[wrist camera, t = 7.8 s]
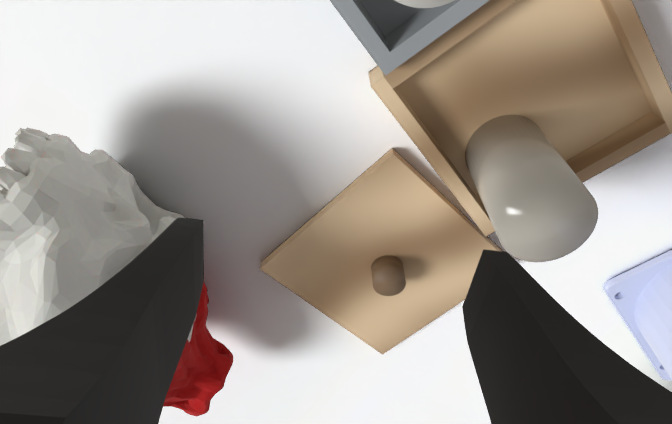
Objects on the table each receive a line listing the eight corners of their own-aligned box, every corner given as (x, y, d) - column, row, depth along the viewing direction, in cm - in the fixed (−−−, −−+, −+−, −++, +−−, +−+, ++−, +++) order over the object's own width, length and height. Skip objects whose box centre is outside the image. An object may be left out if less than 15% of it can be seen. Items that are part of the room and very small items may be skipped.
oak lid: (511, 258, 27) (521, 282, 25) (381, 346, 30) (384, 371, 29) (392, 148, 23) (396, 167, 22) (261, 261, 27) (257, 285, 25)
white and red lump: (65, 74, 21) (308, 270, 29) (-82, 220, 25) (169, 358, 33) (-41, 219, 14) (318, 424, 22) (-225, 392, 18) (139, 513, 26)
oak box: (664, 109, 22) (685, 125, 21) (477, 216, 25) (485, 236, 24) (578, -83, 18) (597, -79, 17) (368, 72, 21) (370, 86, 20)
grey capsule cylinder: (557, 157, 23) (613, 231, 18) (488, 197, 24) (524, 276, 20) (522, 98, 21) (573, 163, 17) (450, 144, 23) (479, 216, 18)
